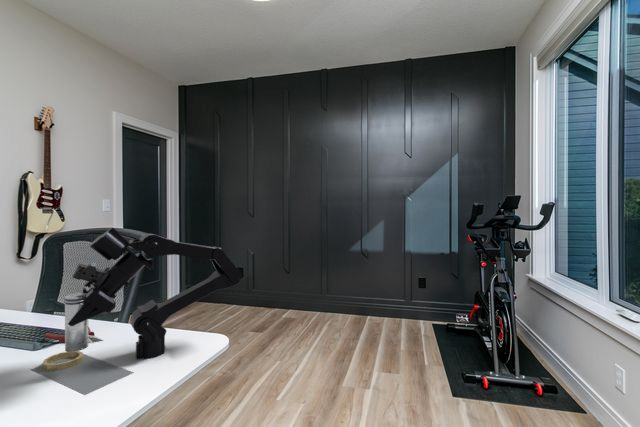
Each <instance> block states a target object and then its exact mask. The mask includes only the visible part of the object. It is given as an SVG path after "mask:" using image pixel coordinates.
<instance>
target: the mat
mask: <svg viewBox="0 0 640 427" xmlns="http://www.w3.org/2000/svg"><path fill="white" fill-rule="evenodd" d="M73 359H75V358H65V359H60V360H57V361H54V362H52V363H50V364H58V363H63V362H67V361H70V360H73ZM30 371H32V372H34V373H37V375H38V374H39V375H41V376H43V377H44V378H46V379H49V380H51V381H54V382H55V383H58V384H60V385H62V386H64V387H67V388H68V389H71V390H73V391H75V392H78V393H79V394H81V395H84V396H87V395H89V394H91V393H93V392H95V391H97V390H99V389H102V388H104V387H106V386H108V385H111V384H113V383H115V382H117V381H119V380H121V379H123V378H126V377H128V376H130V375H133V374H134V373H135V372H133V371H132V370H129V369H126V368H123V367H121V366H117V365H115V364H111V363H109V362H106V361H104V360H101V359H99V358H95V357H93V356H90V355H88V354H84V353H83V360H82V362H81V363H79V364H78V365H76V366H73V367H70V368H68V369H63V370H58V371H46V370H43V364H42V365H39V366H36V367H34V368H30Z"/></svg>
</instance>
